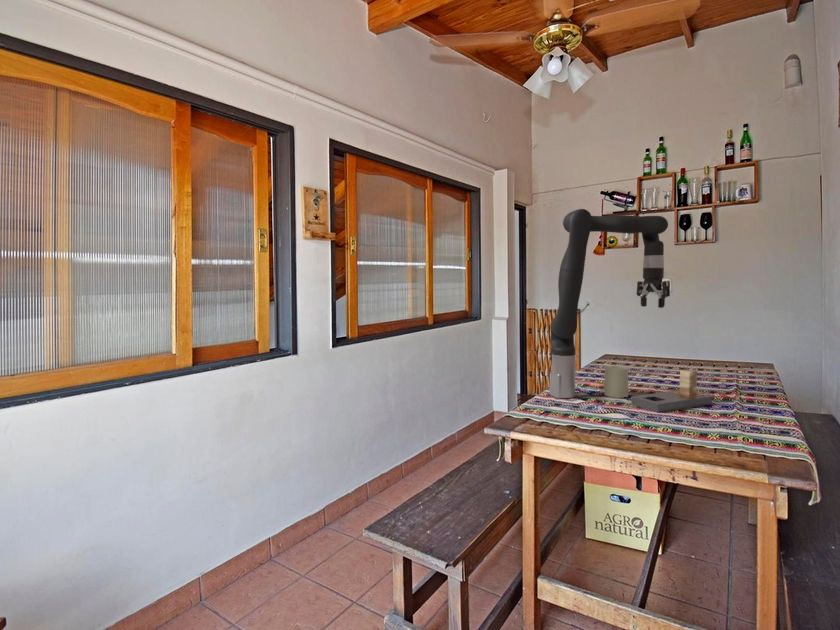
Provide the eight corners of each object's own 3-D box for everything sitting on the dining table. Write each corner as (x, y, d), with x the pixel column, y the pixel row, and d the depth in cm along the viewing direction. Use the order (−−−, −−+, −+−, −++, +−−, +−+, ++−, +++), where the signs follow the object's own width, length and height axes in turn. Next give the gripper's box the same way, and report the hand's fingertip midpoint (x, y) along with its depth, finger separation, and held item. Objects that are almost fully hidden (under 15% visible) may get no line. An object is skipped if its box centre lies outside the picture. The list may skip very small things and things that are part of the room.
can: (623, 392, 193) (624, 364, 192) (631, 398, 184) (632, 368, 183) (601, 392, 194) (601, 364, 193) (607, 398, 185) (608, 368, 184)
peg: (688, 403, 174) (689, 372, 173) (679, 401, 178) (680, 370, 177) (696, 402, 176) (697, 371, 175) (686, 400, 179) (687, 369, 179)
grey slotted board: (657, 412, 164) (657, 403, 163) (631, 404, 175) (631, 396, 175) (711, 404, 173) (712, 395, 173) (683, 396, 184) (683, 388, 184)
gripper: (632, 267, 191) (631, 306, 192) (661, 266, 178) (659, 308, 179) (646, 267, 194) (645, 305, 195) (675, 266, 180) (674, 307, 182)
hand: (652, 307), depth 187 cm, fingers open, 8 cm apart
